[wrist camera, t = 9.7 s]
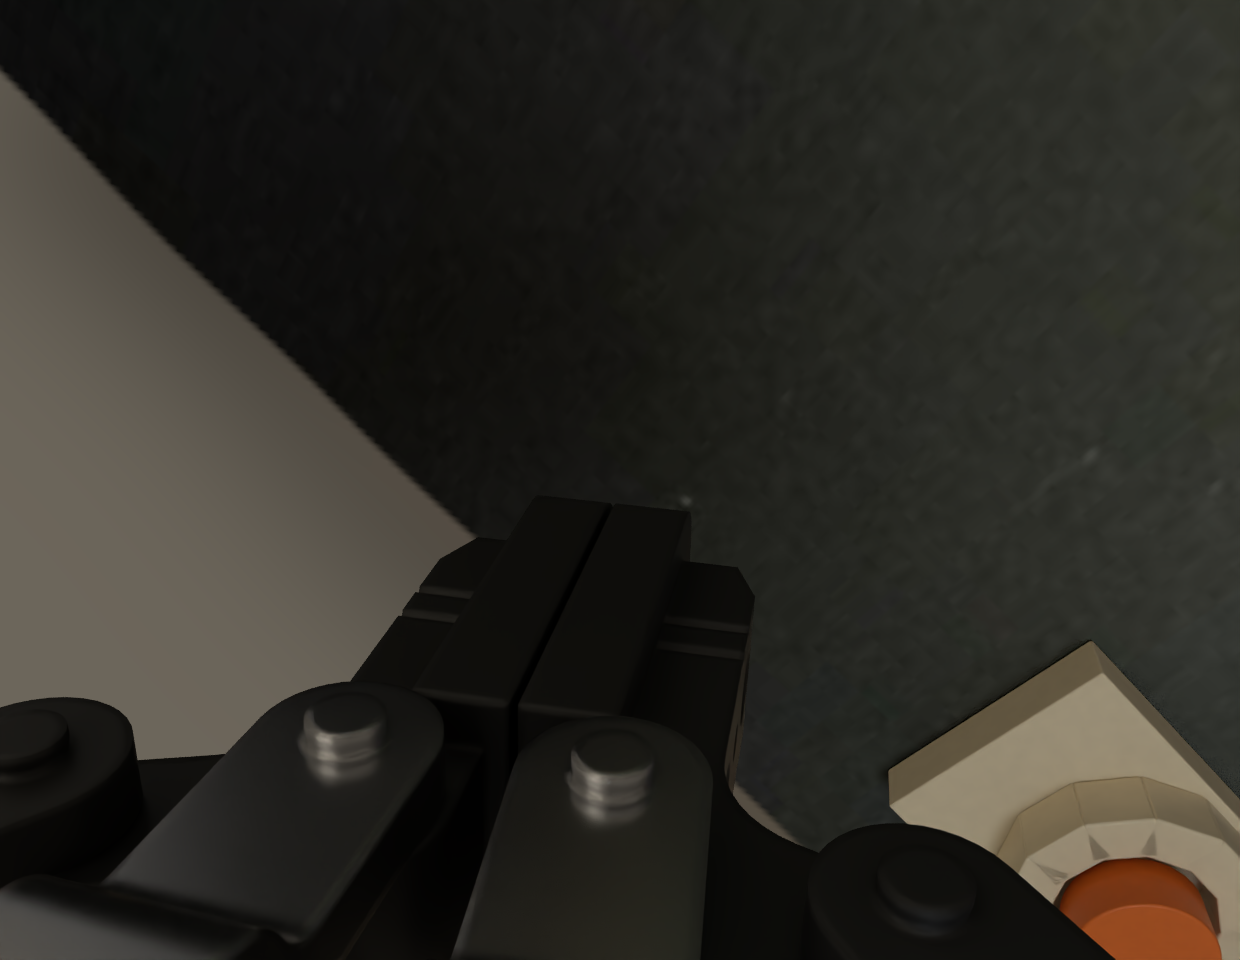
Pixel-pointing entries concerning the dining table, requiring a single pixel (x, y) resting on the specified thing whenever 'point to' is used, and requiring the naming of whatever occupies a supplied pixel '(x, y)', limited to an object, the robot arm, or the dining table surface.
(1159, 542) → the dining table surface
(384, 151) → the dining table surface
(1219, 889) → the panel
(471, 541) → the robot arm
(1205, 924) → the button
